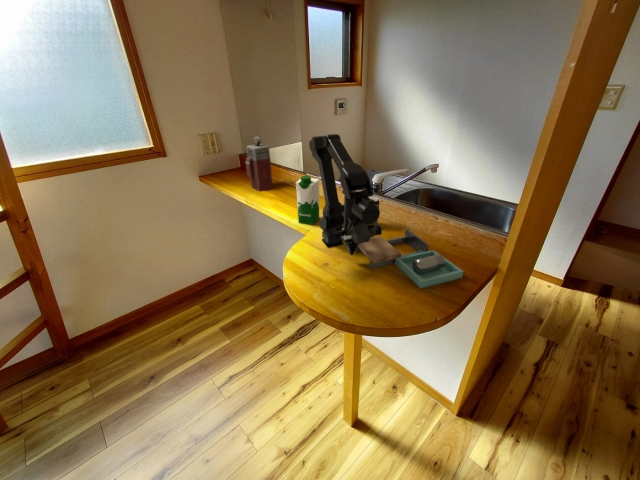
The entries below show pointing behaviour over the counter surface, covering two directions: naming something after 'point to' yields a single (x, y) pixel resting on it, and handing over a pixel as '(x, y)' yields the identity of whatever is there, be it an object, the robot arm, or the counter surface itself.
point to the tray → (431, 277)
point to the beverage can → (375, 202)
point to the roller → (428, 264)
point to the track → (409, 238)
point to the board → (379, 250)
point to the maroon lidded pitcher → (259, 165)
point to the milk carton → (308, 200)
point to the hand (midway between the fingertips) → (351, 254)
